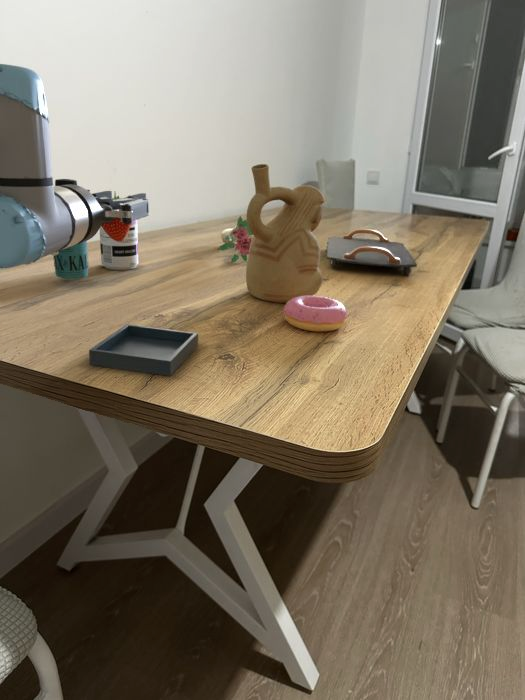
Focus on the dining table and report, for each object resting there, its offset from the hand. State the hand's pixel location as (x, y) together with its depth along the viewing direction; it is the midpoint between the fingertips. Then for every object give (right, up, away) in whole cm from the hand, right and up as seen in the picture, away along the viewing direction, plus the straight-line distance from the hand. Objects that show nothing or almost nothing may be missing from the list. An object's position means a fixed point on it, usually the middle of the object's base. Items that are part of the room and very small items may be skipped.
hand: (126, 200), depth 87 cm
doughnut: (+32, -21, +2) cm, 38 cm away
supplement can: (-10, -6, +33) cm, 35 cm away
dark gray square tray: (+7, -26, -15) cm, 31 cm away
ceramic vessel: (+26, -14, +18) cm, 35 cm away
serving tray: (+52, 0, +58) cm, 78 cm away
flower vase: (+16, 0, +51) cm, 54 cm away
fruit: (-1, -8, -3) cm, 8 cm away
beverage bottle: (-15, -12, +18) cm, 26 cm away
